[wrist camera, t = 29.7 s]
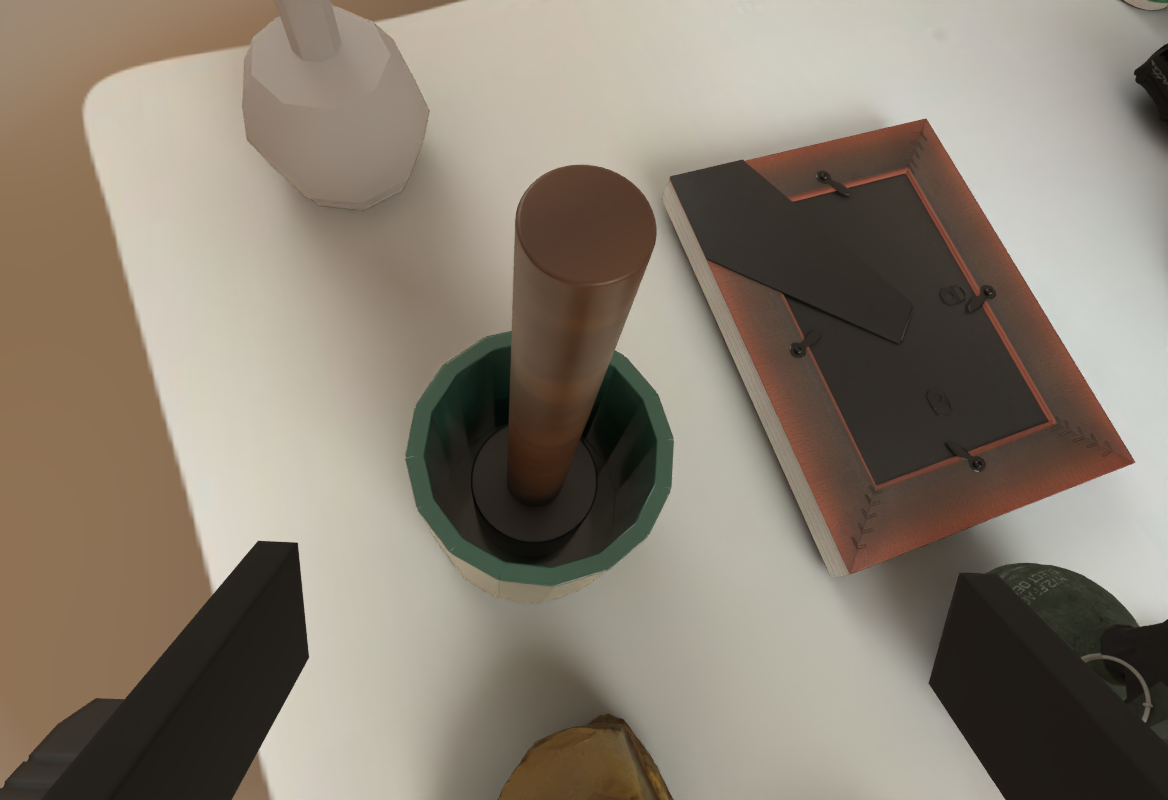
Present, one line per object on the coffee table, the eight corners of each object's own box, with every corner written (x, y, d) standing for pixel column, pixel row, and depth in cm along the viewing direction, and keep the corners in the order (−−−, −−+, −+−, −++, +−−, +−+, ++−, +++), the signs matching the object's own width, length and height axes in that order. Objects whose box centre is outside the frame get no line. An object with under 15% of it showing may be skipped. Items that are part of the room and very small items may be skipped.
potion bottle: (254, 108, 38) (53, -326, 21) (415, 84, 39) (351, -334, 23) (280, 242, 35) (77, -128, 18) (451, 210, 37) (410, -154, 20)
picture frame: (659, 204, 38) (826, 579, 32) (669, 175, 36) (851, 574, 30) (905, 145, 42) (1097, 473, 36) (929, 115, 39) (1139, 461, 33)
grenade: (919, 552, 33) (1091, 508, 24) (1066, 598, 34) (1291, 574, 24) (905, 732, 30) (1096, 762, 21) (1068, 782, 31) (1326, 833, 21)
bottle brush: (607, 510, 31) (809, 255, 11) (520, 580, 30) (562, 441, 9) (539, 427, 32) (606, 47, 12) (452, 492, 31) (353, 186, 10)
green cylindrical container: (661, 520, 33) (725, 470, 23) (513, 645, 30) (519, 645, 21) (546, 382, 34) (563, 283, 25) (397, 488, 32) (353, 423, 22)
